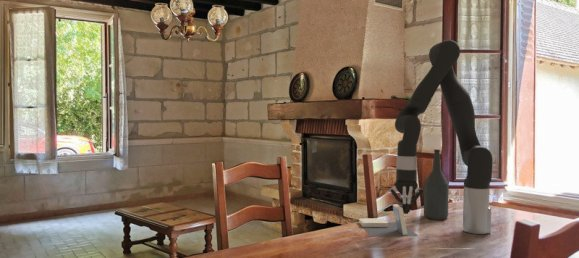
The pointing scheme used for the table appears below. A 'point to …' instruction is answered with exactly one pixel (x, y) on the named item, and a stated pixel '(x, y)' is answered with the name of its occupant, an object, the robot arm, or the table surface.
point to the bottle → (436, 192)
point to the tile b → (400, 219)
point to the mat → (387, 231)
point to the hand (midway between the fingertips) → (405, 213)
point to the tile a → (373, 222)
